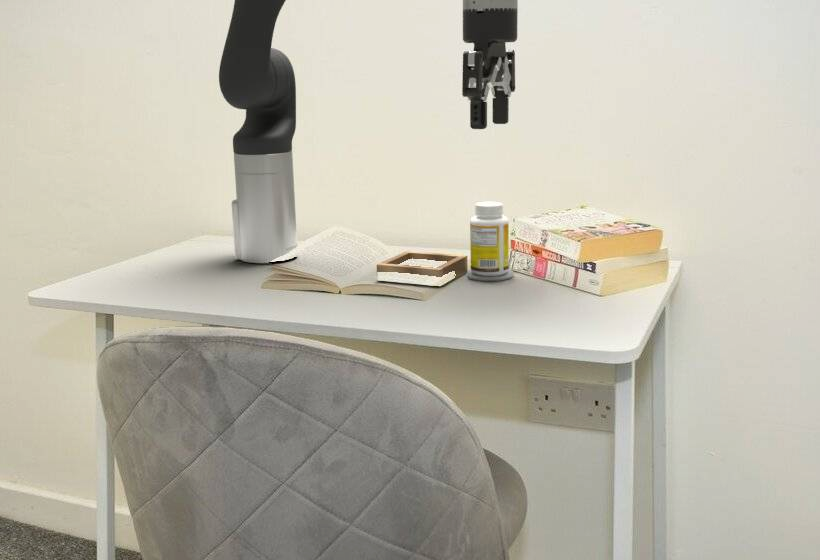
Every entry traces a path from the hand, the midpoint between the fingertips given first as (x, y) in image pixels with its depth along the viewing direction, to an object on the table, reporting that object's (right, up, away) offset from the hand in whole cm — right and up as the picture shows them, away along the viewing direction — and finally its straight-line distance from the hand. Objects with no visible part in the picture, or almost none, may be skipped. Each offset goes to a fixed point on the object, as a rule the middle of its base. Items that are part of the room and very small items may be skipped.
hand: (489, 126), depth 135 cm
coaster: (0, -21, +5) cm, 22 cm away
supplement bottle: (0, -21, +5) cm, 22 cm away
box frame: (-9, -21, +5) cm, 24 cm away
